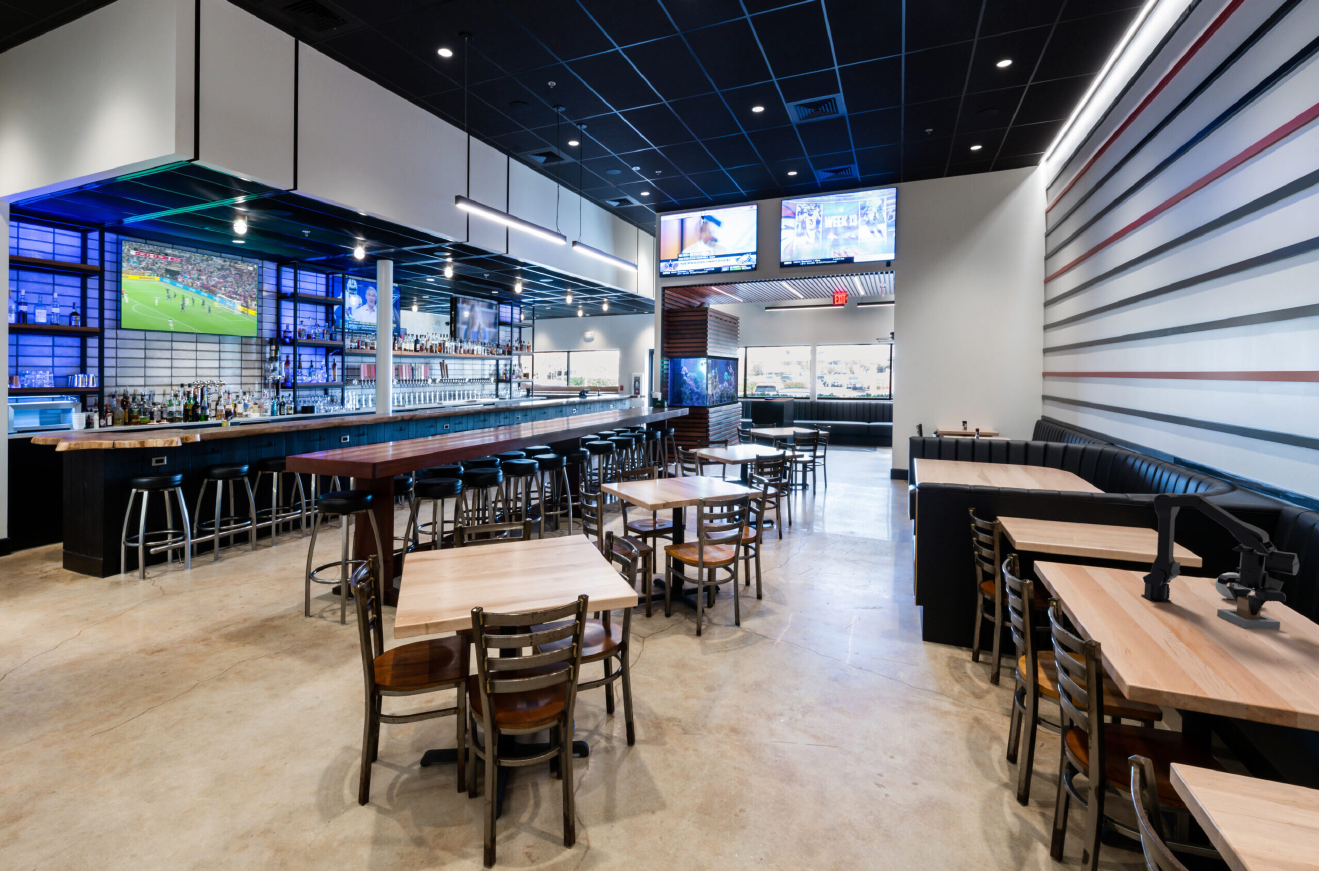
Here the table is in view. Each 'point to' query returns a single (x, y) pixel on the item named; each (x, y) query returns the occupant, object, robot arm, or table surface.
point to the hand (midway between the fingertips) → (1248, 612)
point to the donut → (1225, 587)
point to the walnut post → (1245, 609)
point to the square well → (1248, 620)
